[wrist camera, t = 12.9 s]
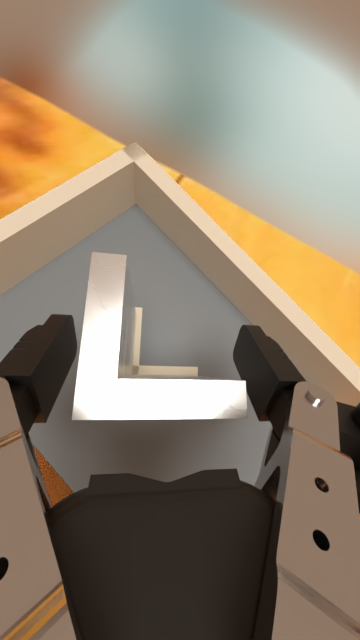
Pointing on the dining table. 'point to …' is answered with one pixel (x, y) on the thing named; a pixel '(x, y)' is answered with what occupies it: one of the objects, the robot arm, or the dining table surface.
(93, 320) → the bracket
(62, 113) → the dining table surface
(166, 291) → the arena
